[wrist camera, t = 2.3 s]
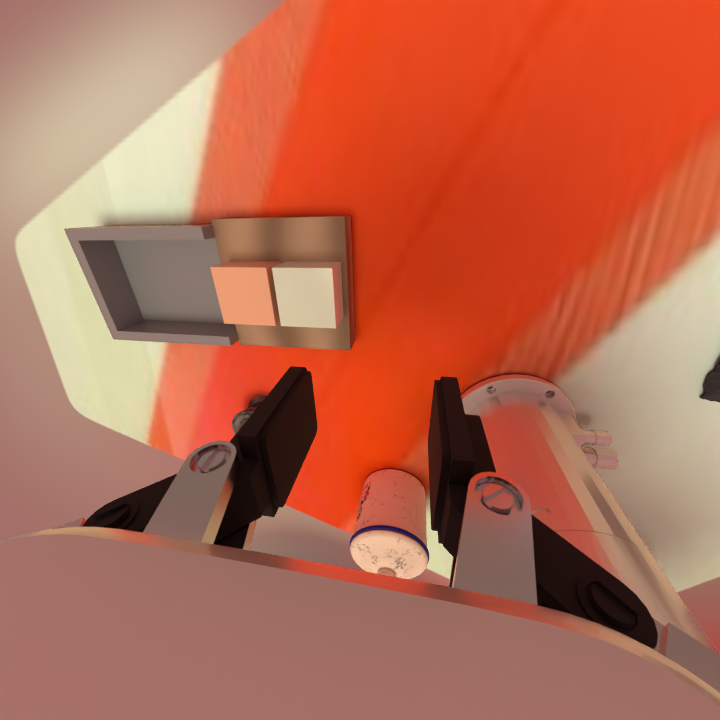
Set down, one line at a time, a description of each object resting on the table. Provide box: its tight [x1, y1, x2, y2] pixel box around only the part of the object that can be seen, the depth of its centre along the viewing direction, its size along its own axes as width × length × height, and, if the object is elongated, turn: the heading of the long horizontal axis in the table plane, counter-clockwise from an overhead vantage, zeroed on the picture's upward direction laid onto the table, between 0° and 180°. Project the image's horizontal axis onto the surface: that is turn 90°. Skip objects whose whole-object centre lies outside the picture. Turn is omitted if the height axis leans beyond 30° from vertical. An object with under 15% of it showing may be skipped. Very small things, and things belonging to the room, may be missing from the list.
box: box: [64, 224, 239, 346], centre depth 30 cm, size 14×11×4 cm
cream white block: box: [272, 261, 344, 328], centre depth 26 cm, size 5×5×3 cm
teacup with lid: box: [350, 469, 429, 579], centre depth 37 cm, size 12×9×12 cm
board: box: [211, 215, 355, 350], centre depth 29 cm, size 12×12×2 cm
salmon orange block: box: [210, 261, 281, 326], centre depth 27 cm, size 5×5×3 cm
